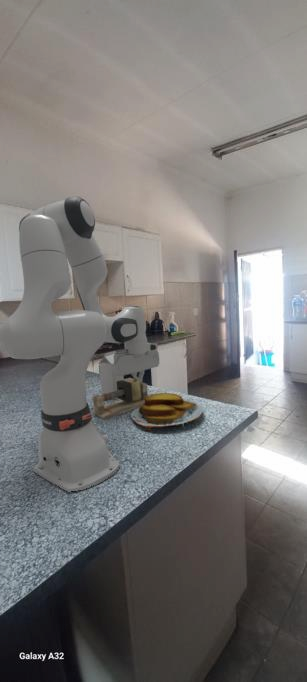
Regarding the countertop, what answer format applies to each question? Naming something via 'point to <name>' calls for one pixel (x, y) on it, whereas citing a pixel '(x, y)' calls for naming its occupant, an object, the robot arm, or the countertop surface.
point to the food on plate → (166, 411)
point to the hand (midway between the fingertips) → (138, 382)
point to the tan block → (134, 388)
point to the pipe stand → (117, 403)
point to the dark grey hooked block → (125, 390)
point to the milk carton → (108, 374)
